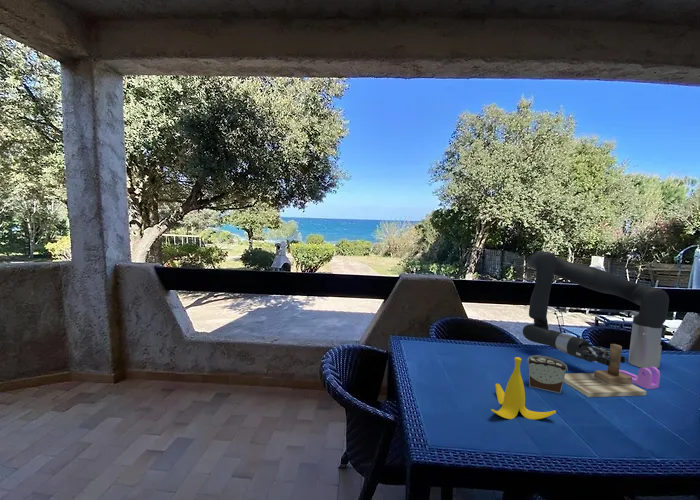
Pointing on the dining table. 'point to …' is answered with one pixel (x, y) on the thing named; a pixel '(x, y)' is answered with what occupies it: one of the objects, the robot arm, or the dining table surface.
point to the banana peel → (516, 398)
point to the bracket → (645, 377)
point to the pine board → (599, 386)
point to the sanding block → (613, 370)
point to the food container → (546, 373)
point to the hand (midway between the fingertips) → (617, 361)
